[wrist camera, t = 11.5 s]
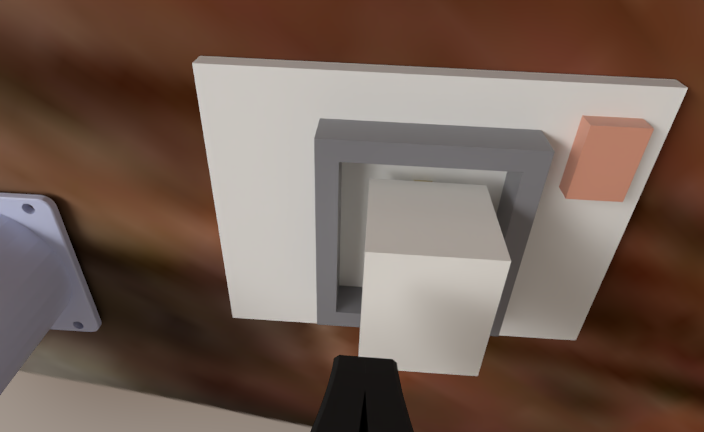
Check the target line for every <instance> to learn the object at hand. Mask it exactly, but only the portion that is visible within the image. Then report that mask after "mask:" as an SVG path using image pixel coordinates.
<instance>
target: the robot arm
mask: <svg viewBox="0 0 704 432" xmlns="http://www.w3.org/2000/svg"><path fill="white" fill-rule="evenodd" d="M29 204H30V205H31V206H33V208H32V207H31V206H29ZM101 324H102V323H101V319H100V317H99V314H98V311H97V309H96V306H95V304H94V301H93V298H92V296H91V293H90V291H89V288H88V286H87V283H86V280H85V278H84V275H83V273H82V270H81V267H80V265H79V262H78V260H77V257H76V254H75V252H74V249H73V247H72V244H71V242H70V239H69V236H68V234H67V231H66V229H65V226H64V223H63V221H62V218H61V216H60V213H59V210H58V208H57V205H56V204H55V202H54V201H53V200H52V199H51V198H49V197H47V196H43V195H33V194H16V193H0V395H1V393H2V392H3V391H4V389H5V388H6V387H7V385H8V384H9V383H10V381H11V380H12V379H13V377H14V376H15V375H16V373H17V372H18V371H19V369H20V368H21V367H22V365H23V364H24V363H25V361H26V360H27V359H28V357H29V356H30V355H31V353H32V352H33V351H34V349H35V348H36V347H37V345H38V344H39V343H40V342H41V340H42V339H43V338H44V336H45V335H46V334H47V332H48V331H49V330H50V329H54V330H69V331H83V332H95V331H97V330H98V329H99V327H100V326H101ZM311 432H414V431H413V428H412V425H411V422H410V419H409V415H408V412H407V408H406V404H405V401H404V397H403V393H402V389H401V384H400V379H399V374H398V368H397V362H395V361H394V360H393V359H385V358H371V357H357V356H343V355H339V356H337V357H335V358H334V362H333V367H332V372H331V375H330V379H329V383H328V386H327V389H326V392H325V396H324V398H323V401H322V404H321V407H320V409H319V412H318V415H317V417H316V420H315V422H314V424H313V427H312V429H311Z"/></svg>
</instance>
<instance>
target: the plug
mask: <svg viewBox="0 0 704 432" xmlns="http://www.w3.org/2000/svg"><path fill="white" fill-rule="evenodd" d="M510 264H511V259H510V256H509V253H508V250H507V246H506V243H505V240H504V237H503V234H502V231H501V228H500V225H499V222H498V219H497V216H496V213H495V210H494V207H493V204H492V201H491V198H490V195H489V192H488V189H487V186H486V185H473V184H456V183H439V182H433V181H426V180H414V181H405V180H388V179H371V178H369V192H368V208H367V224H366V239H365V255H364V271H363V287H362V304H361V321H360V338H359V355H358V357H371V358H385V359H393V360H394V361H395V362H397V368H398V371H412V372H426V373H440V374H455V375H469V376H478V373H479V370H480V367H481V363H482V360H483V356H484V353H485V349H486V346H487V343H488V339H489V336H490V332H491V329H492V326H493V322H494V319H495V315H496V312H497V309H498V305H499V302H500V298H501V295H502V291H503V288H504V285H505V281H506V278H507V274H508V271H509V268H510Z"/></svg>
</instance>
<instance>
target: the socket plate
mask: <svg viewBox="0 0 704 432" xmlns="http://www.w3.org/2000/svg"><path fill="white" fill-rule="evenodd" d="M192 65H193V71H194V77H195V84H196V90H197V96H198V102H199V109H200V115H201V121H202V128H203V134H204V140H205V146H206V153H207V159H208V165H209V171H210V178H211V184H212V190H213V197H214V203H215V209H216V215H217V222H218V228H219V234H220V241H221V247H222V253H223V259H224V266H225V272H226V278H227V285H228V291H229V297H230V303H231V310H232V316H233V318H245V319H260V320H275V321H290V322H305V323H317V324H319V325H334V326H350V327H360V321H361V304H362V287H363V271H364V255H365V239H366V224H367V208H368V192H369V178H371V179H388V180H405V181H414V180H426V181H433V182H439V183H456V184H473V185H486V186H487V189H488V192H489V195H490V198H491V201H492V204H493V207H494V210H495V213H496V216H497V219H498V222H499V225H500V228H501V231H502V234H503V237H504V240H505V243H506V246H507V250H508V253H509V256H510V259H511V264H510V268H509V271H508V274H507V278H506V281H505V285H504V288H503V291H502V295H501V298H500V302H499V305H498V309H497V312H496V315H495V319H494V322H493V326H492V329H491V332H490V336H499V335H502V336H517V337H532V338H547V339H562V340H576V339H577V337H578V334H579V332H580V330H581V328H582V325H583V323H584V321H585V319H586V316H587V314H588V312H589V310H590V307H591V305H592V303H593V301H594V298H595V296H596V294H597V292H598V289H599V287H600V285H601V283H602V280H603V278H604V276H605V274H606V271H607V269H608V267H609V265H610V262H611V260H612V258H613V256H614V253H615V251H616V249H617V247H618V244H619V242H620V240H621V238H622V235H623V233H624V231H625V229H626V226H627V224H628V222H629V220H630V217H631V215H632V213H633V211H634V208H635V206H636V204H637V202H638V200H639V197H640V195H641V193H642V191H643V188H644V186H645V184H646V182H647V179H648V177H649V175H650V173H651V170H652V168H653V166H654V164H655V161H656V159H657V157H658V155H659V152H660V150H661V148H662V146H663V143H664V141H665V139H666V137H667V134H668V132H669V130H670V128H671V125H672V123H673V121H674V119H675V116H676V114H677V112H678V110H679V107H680V105H681V103H682V101H683V98H684V96H685V94H686V92H687V89H688V88H687V87H686V86H685V85H683V84H682V83H680V82H679V81H677V80H676V79H656V78H636V77H616V76H596V75H575V74H555V73H535V72H515V71H495V70H475V69H455V68H435V67H414V66H394V65H374V64H354V63H334V62H314V61H294V60H273V59H253V58H233V57H213V56H199V57H198V58H197V59H196V60H195V61H194V62H193V63H192Z"/></svg>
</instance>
